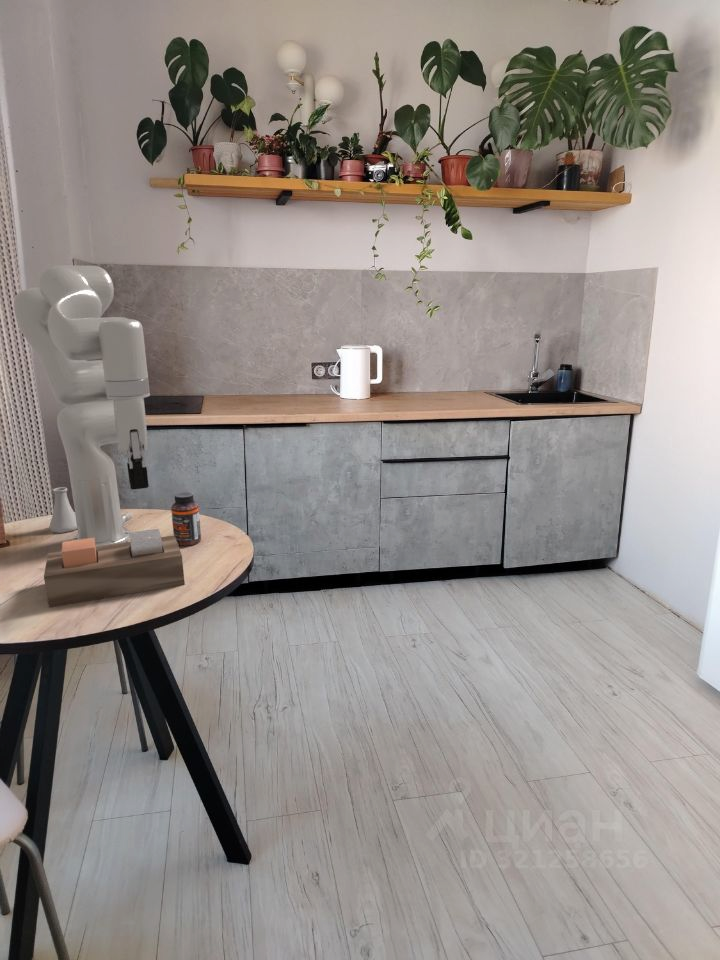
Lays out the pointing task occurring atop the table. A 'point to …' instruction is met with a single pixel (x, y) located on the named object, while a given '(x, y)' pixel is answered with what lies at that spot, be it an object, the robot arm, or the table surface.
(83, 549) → the terracotta button
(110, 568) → the button console
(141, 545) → the metal button
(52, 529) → the flask
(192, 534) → the supplement bottle
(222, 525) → the table surface
